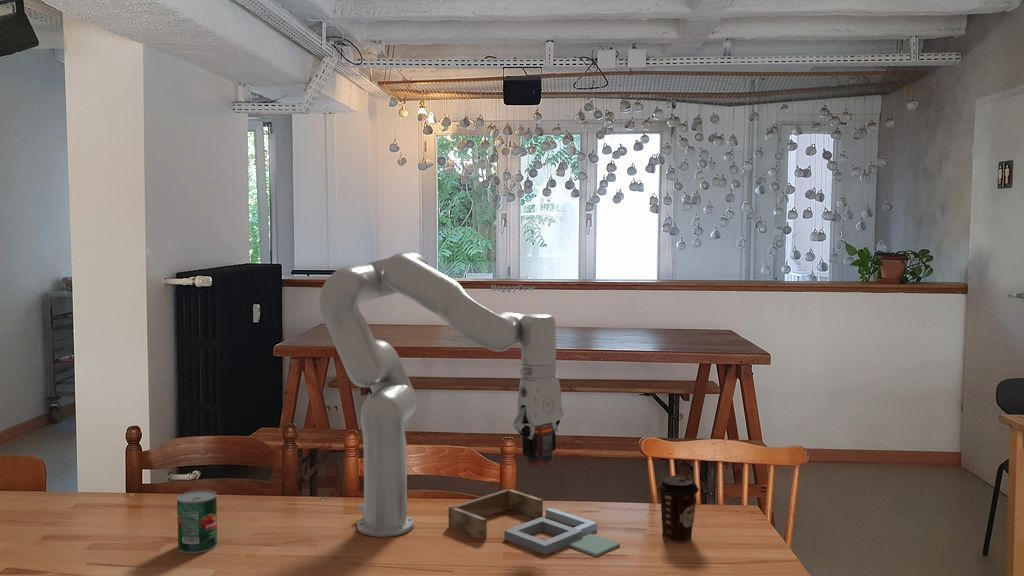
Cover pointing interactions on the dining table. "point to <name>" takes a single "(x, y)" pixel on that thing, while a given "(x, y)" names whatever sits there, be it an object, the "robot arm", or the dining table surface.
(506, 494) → the cubby
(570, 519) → the crook tool
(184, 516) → the canned tomato
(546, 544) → the hole board
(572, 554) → the dining table surface
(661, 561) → the dining table surface
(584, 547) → the pad
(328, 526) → the dining table surface
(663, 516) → the coffee cup
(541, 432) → the supplement bottle
